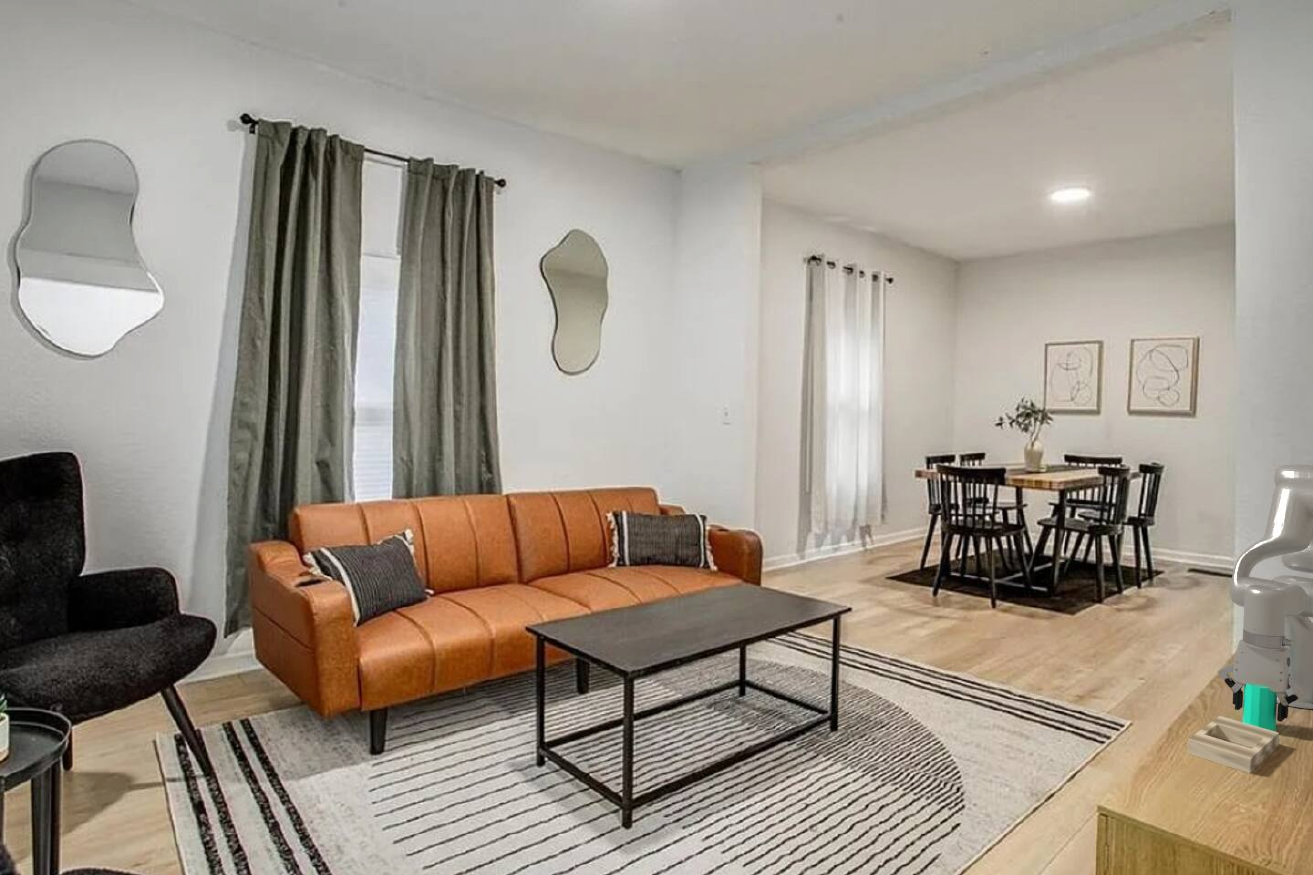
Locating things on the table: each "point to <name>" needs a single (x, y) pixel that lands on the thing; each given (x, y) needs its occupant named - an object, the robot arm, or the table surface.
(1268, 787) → the table surface
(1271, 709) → the candle
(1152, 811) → the table surface
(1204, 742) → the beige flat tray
